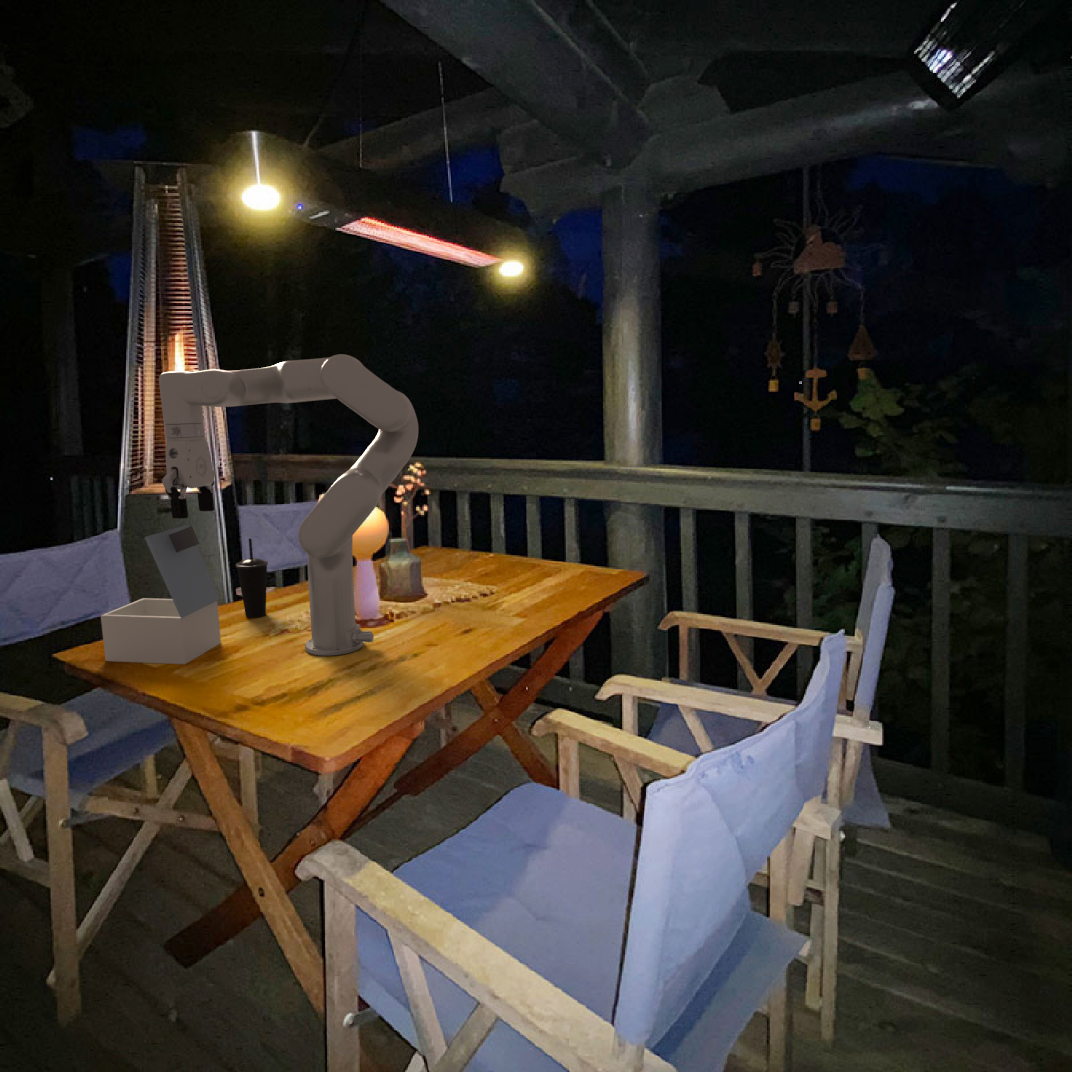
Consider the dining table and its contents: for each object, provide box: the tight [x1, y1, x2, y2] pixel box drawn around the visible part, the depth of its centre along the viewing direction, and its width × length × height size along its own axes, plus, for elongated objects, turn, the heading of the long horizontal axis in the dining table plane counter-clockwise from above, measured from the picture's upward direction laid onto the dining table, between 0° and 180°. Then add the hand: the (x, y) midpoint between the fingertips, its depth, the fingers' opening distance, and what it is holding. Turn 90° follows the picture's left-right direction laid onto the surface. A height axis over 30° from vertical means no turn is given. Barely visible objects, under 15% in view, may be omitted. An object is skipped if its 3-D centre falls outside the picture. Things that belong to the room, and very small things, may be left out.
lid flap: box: [144, 524, 221, 618], centre depth 160 cm, size 18×14×6 cm
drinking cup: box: [235, 538, 269, 619], centre depth 190 cm, size 8×8×20 cm
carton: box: [100, 597, 222, 665], centre depth 164 cm, size 18×14×10 cm
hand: (194, 514), depth 158 cm, fingers open, 9 cm apart
